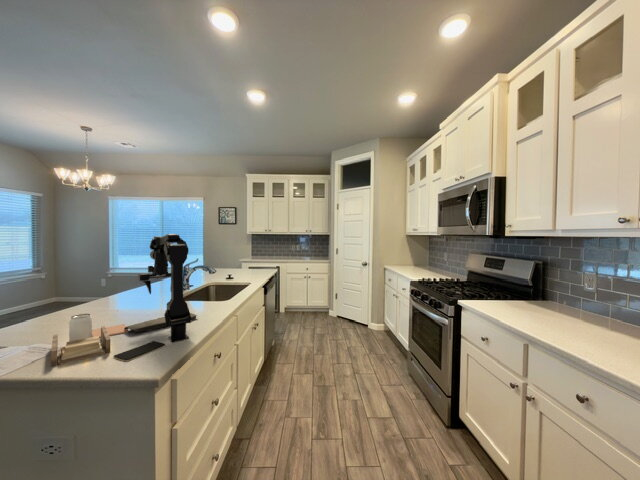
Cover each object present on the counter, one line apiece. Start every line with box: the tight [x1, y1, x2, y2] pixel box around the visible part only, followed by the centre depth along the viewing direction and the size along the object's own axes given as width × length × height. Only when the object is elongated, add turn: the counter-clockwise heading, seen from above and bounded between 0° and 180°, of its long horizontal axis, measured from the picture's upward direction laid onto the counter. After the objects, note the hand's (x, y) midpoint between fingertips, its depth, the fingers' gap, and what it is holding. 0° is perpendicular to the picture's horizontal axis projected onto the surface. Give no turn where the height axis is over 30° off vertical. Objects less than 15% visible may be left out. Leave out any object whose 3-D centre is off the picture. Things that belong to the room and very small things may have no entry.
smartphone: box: [113, 340, 166, 362], centre depth 98 cm, size 7×1×15 cm
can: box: [68, 313, 93, 342], centre depth 101 cm, size 6×6×12 cm
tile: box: [92, 323, 130, 339], centre depth 116 cm, size 12×12×1 cm
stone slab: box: [124, 312, 198, 333], centre depth 127 cm, size 10×3×30 cm
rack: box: [50, 325, 111, 367], centre depth 98 cm, size 19×15×5 cm
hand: (161, 292), depth 130 cm, fingers open, 9 cm apart
